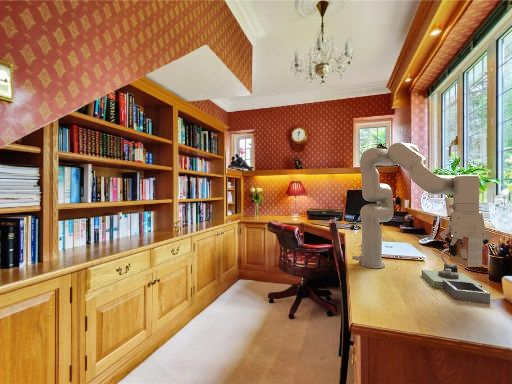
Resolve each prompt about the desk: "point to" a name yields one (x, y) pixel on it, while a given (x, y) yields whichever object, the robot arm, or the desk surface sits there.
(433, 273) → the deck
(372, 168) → the robot arm
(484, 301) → the grey tray
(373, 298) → the desk surface
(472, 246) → the small box
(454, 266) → the watch
